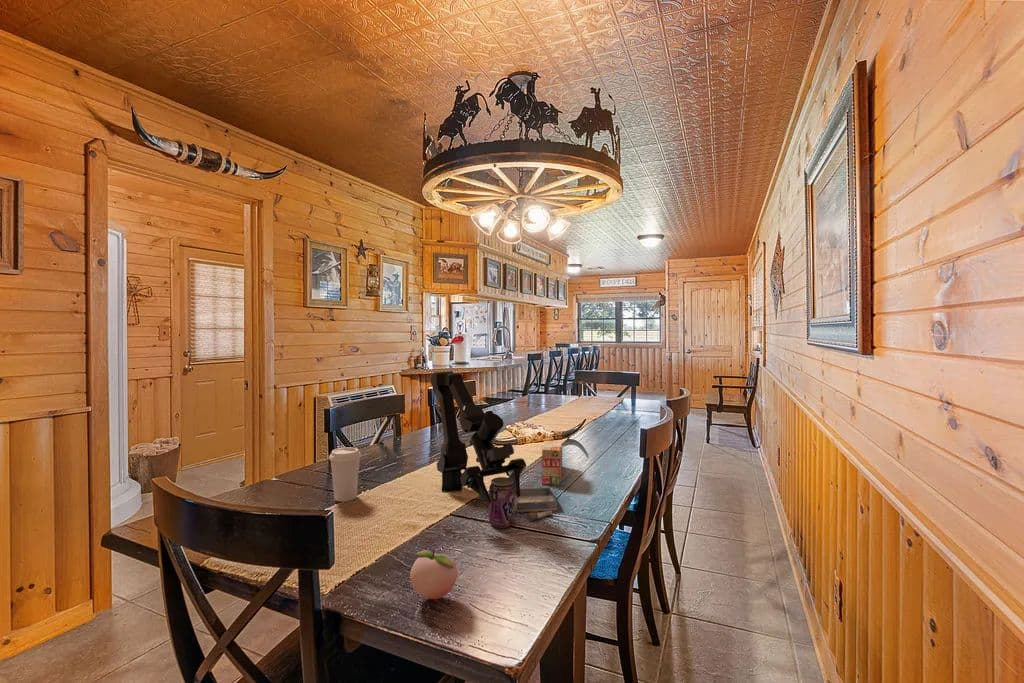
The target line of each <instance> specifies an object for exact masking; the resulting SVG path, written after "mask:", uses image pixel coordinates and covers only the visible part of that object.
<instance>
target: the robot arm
mask: <svg viewBox="0 0 1024 683" xmlns="http://www.w3.org/2000/svg"><path fill="white" fill-rule="evenodd" d="M432 374H433V375H431V376H430V385H431V386H432V391H433V393H434V395H435V396H436V397H437V398H438V401H439V408H440V409H439V410H440V417H441V424H442V432H443V440H444V442H443V444H442V446H441V448H440V457H439V459H438V461H437V462H436V469H437V471H438V472H439V473H441V492H461V491H462V488H463V487H467V488H468V489H471V490H472V491H474V492H475V493H476V494H477V495H479V496H480V497H481V498H482V499H483V500H484V501H485V502H486V503H487V504H488V505H489V504H490V503H491V500H490V496H489V490H488V489H487V487H486V484H485V480H484V477H491V476H496V475H500V474H505V473H506V476H507V477H508V478H511V479H513V480H514V482H513V483H514V485H515V494H516V495H517V497H520V489H521V485H520V484H521V483H520V482H521V481H520V480H521V474H522V472H523V471H524V470H525V469H526V467H527V463H526V461H525V460H524V459H523V458H522V457H519V458H515V459H514V458H513V459H510V458H511V457H510V456H512V455H514V454H515V450H514V447H513V444H512V443H511V442H508V443H504V444H502V446H500V447H498V446H495V444H494V442H493V441H494V440H495V439H496V438H497V437H498V435H499V433H500V432H501V430H502V428H503V427H504V420H503V418H501V416H499V415H498V414H496V413H494V412H493V410H487V411H484V410H483V409H482V408H481V407H480V406H478V405H477V404H476V403H475V402H474V400H473V398H472V396H471V394H470V392H469V390H468V387H467V386H466V383H465V380H464V376H463V374H462V373H459V372H457V373H454V371H451V370H447V371H434V372H433V373H432ZM455 404H456V405H457V407H458V410H459V411H460V417H459V422H460V427H461V428H460V429H462V430H463V431H462V432H464V433H466V434H469V433H473V434H472V435H471V436H470V439H469V446H472V447H473V449H474V451H475V452H474V453H475V454H476V458H475V461H476V463H479V465H480V466H478V465H474V466H468V460H469V456H468V453H467V446H466V443H465V442H462V441H461V439H460V437H459V430H458V423H457V421H458V420H457V415H456V409H455ZM506 459H510V461H509V462H508V464H507V465H503V464H505V463H506ZM467 466H468V467H467ZM462 470H463V471H462Z"/></svg>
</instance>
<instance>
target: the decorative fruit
mask: <svg viewBox="0 0 1024 683" xmlns="http://www.w3.org/2000/svg"><path fill="white" fill-rule="evenodd" d="M415 555H416V556H418V557H417V558H416V560H415V561H414V563H412V564H413V565H412V567H411V570H410V574H409V578H410V583H411V585H412V587H413V590H414V591H415V592H416V593H417V594H418V595H419V596H421V597H423V598H428V599H431V600H437V599H438V600H439V599H442V598H443V597H445V596H446V595H448V594H449V593H450V592H451V591H452V589H453V588H454V587H455V585H456V582H457V578H458V568H457V564H456V562H455V561H454V560H453V559H452V558H451V557H450V556H448V555H446V554H438V553H436V552H435V549H432V551H431V550H428V549H427V550H425V549H424V550H421V551H418V552H416V553H415Z"/></svg>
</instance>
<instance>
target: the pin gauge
mask: <svg viewBox="0 0 1024 683" xmlns="http://www.w3.org/2000/svg"><path fill="white" fill-rule="evenodd" d="M552 514H553V510H547V511H540V512H537V511H532V512H530V513H527V514H526V520H527V521H528V522H533V521H536V520H538V519H542V518H545V517H549V516H551V515H552Z"/></svg>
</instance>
